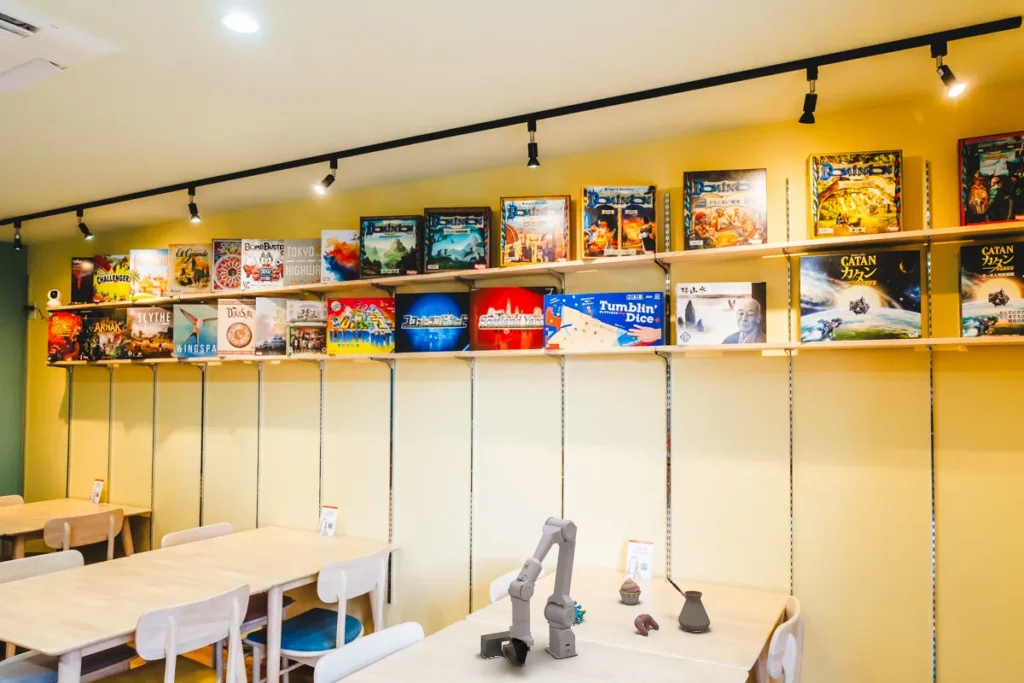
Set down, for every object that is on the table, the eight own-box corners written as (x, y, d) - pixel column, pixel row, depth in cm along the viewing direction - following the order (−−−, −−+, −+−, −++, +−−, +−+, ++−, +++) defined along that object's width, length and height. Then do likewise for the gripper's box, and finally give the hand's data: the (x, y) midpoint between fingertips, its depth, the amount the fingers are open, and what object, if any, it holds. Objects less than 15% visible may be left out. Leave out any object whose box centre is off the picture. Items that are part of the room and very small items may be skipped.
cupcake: (643, 606, 277) (643, 581, 278) (620, 606, 278) (620, 581, 278) (639, 599, 287) (639, 575, 287) (617, 599, 287) (617, 575, 288)
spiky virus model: (561, 622, 254) (557, 597, 261) (556, 630, 257) (553, 605, 265) (589, 624, 256) (584, 599, 264) (584, 631, 260) (579, 607, 268)
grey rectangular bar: (524, 664, 219) (524, 654, 219) (515, 666, 218) (515, 656, 218) (512, 652, 229) (512, 643, 230) (502, 654, 228) (502, 644, 228)
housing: (530, 651, 230) (530, 633, 231) (486, 659, 224) (486, 640, 224) (524, 646, 235) (524, 628, 235) (480, 653, 229) (480, 635, 229)
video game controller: (651, 631, 253) (643, 612, 255) (660, 628, 250) (652, 609, 253) (638, 639, 245) (629, 619, 247) (648, 635, 243) (639, 616, 245)
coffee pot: (717, 631, 248) (716, 589, 249) (692, 636, 243) (691, 593, 244) (679, 614, 267) (678, 575, 268) (655, 618, 263) (654, 578, 264)
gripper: (500, 613, 224) (501, 656, 223) (519, 627, 210) (519, 672, 209) (520, 610, 226) (520, 652, 225) (539, 624, 213) (540, 668, 212)
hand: (521, 662), depth 218 cm, fingers closed
